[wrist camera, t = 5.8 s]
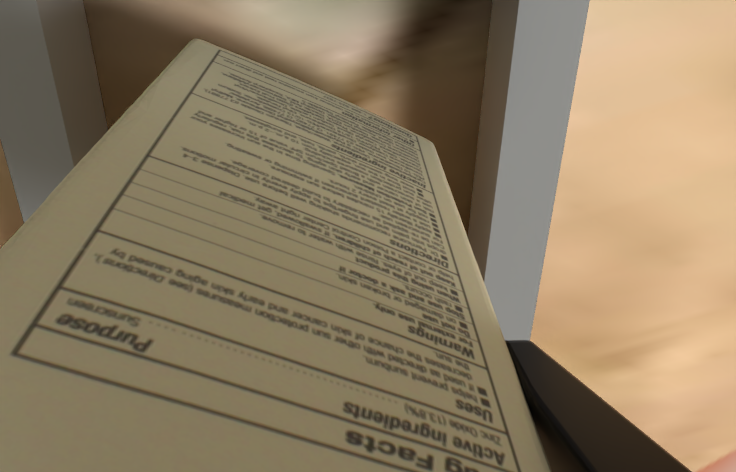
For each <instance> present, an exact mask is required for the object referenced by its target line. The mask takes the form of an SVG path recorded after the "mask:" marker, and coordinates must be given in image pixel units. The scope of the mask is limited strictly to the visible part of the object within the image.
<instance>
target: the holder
mask: <svg viewBox="0 0 736 472" xmlns="http://www.w3.org/2000/svg"><path fill="white" fill-rule="evenodd" d="M589 1H590V0H492V9H491V19H490V28H489V38H488V47H487V57H486V66H485V76H484V85H483V95H482V104H481V114H480V123H479V133H478V142H477V152H476V161H475V171H474V180H473V190H472V200H471V209H470V219H469V228H468V240H469V243H470V245H471V248H472V251H473V254H474V256H475V259H476V262H477V264H478V267H479V270H480V273H481V275H482V278H483V281H484V284H485V286H486V289H487V292H488V295H489V298H490V300H491V303H492V306H493V309H494V312H495V315H496V317H497V320H498V323H499V326H500V329H501V331H502V334H503V337H504V339H505V341H506V340H529V341H530V336H531V330H532V325H533V319H534V313H535V308H536V302H537V296H538V291H539V285H540V279H541V274H542V268H543V262H544V257H545V251H546V245H547V240H548V234H549V228H550V222H551V217H552V211H553V205H554V200H555V194H556V188H557V183H558V177H559V171H560V166H561V160H562V154H563V149H564V143H565V137H566V132H567V126H568V120H569V115H570V109H571V103H572V97H573V92H574V86H575V80H576V75H577V69H578V63H579V58H580V52H581V46H582V41H583V35H584V29H585V24H586V18H587V12H588V7H589ZM107 131H108V127H107V122H106V117H105V112H104V107H103V101H102V96H101V91H100V86H99V81H98V76H97V70H96V65H95V60H94V55H93V50H92V45H91V39H90V34H89V29H88V24H87V19H86V14H85V8H84V3H83V0H0V140H1V143H2V147H3V150H4V154H5V157H6V161H7V164H8V168H9V172H10V175H11V179H12V182H13V186H14V189H15V193H16V196H17V200H18V203H19V207H20V211H21V214H22V218H23V221H24V223H25V222H26V221H27V220H28V219H29V217H30V216H31V215H32V214H33V213H34V212H35V211H36V210H37V209H38V208H39V207H40V205H41V204H42V203H43V202H44V201H45V200H46V198H47V197H48V196H49V195H50V194H51V192H52V191H53V190H54V189H55V188H56V187H57V186H58V185H59V184H60V183H61V182H62V180H63V179H64V178H65V177H66V176H67V175H68V174H69V173H70V171H71V170H72V169H73V168H74V167H75V166H76V165H77V164H78V163H79V161H80V160H81V159H82V158H83V157H84V156H85V155H86V154H87V153H88V152H89V151H90V150H91V149H92V147H93V146H94V145H95V144H96V143H97V142H98V141H99V140H100V139H101V138H102V137H103V136H104V135H105V133H106V132H107Z"/></svg>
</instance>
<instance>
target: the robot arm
mask: <svg viewBox="0 0 736 472" xmlns="http://www.w3.org/2000/svg"><path fill="white" fill-rule="evenodd" d="M505 342H506V345H507V348H508V350H509V353H510V356H511V359H512V361H513V364H514V367H515V370H516V373H517V375H518V378H519V381H520V384H521V387H522V389H523V392H524V395H525V398H526V401H527V404H528V406H529V409H530V412H531V415H532V418H533V420H534V423H535V426H536V429H537V431H538V434H539V437H540V440H541V443H542V445H543V448H544V451H545V454H546V457H547V459H548V462H549V465H550V468H551V470H552V472H692V471H690V470H689V469H688V468H687V467H685V466H684V465H683V464H682V463H680V462H679V461H678V460H677V459H676V458H674V457H673V456H672V455H671V454H669V453H668V452H667V451H666V450H664V449H663V448H662V447H661V446H660V445H658V444H657V443H656V442H655V441H653V440H652V439H651V438H650V437H648V436H647V435H646V434H645V433H644V432H642V431H641V430H640V429H639V428H637V427H636V426H635V425H634V424H632V423H631V422H630V421H629V420H628V419H626V418H625V417H624V416H623V415H621V414H620V413H619V412H618V411H616V410H615V409H614V408H613V407H612V406H610V405H609V404H608V403H607V402H605V401H604V400H603V399H602V398H601V397H599V396H598V395H597V394H596V393H594V392H593V391H592V390H591V389H589V388H588V387H587V386H586V385H585V384H583V383H582V382H581V381H580V380H578V379H577V378H576V377H575V376H573V375H572V374H571V373H570V372H569V371H567V370H566V369H565V368H564V367H562V366H561V365H560V364H559V363H557V362H556V361H555V360H554V359H553V358H551V357H550V356H549V355H548V354H546V353H545V352H544V351H543V350H541V349H540V348H539V347H538V346H537V345H535V344H534V343H533V342H531V341H529V340H506V341H505Z"/></svg>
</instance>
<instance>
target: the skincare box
mask: <svg viewBox="0 0 736 472" xmlns="http://www.w3.org/2000/svg"><path fill="white" fill-rule="evenodd" d="M0 472H552V470H551V468H550V465H549V462H548V459H547V457H546V454H545V451H544V448H543V445H542V443H541V440H540V437H539V434H538V431H537V429H536V426H535V423H534V420H533V418H532V415H531V412H530V409H529V406H528V404H527V401H526V398H525V395H524V392H523V389H522V387H521V384H520V381H519V378H518V375H517V373H516V370H515V367H514V364H513V361H512V359H511V356H510V353H509V350H508V348H507V345H506V342H505V339H504V337H503V334H502V331H501V329H500V326H499V323H498V320H497V317H496V315H495V312H494V309H493V306H492V303H491V300H490V298H489V295H488V292H487V289H486V286H485V284H484V281H483V278H482V275H481V273H480V270H479V267H478V264H477V262H476V259H475V256H474V254H473V251H472V248H471V245H470V243H469V240H468V237H467V234H466V231H465V229H464V226H463V223H462V220H461V217H460V215H459V212H458V209H457V206H456V204H455V201H454V199H453V196H452V193H451V190H450V187H449V184H448V182H447V179H446V176H445V173H444V170H443V168H442V165H441V162H440V159H439V157H438V154H437V151H436V148H435V146H434V144H433V143H432V142H431V141H429V140H427V139H426V138H424V137H422V136H420V135H417V134H415V133H413V132H411V131H409V130H407V129H405V128H403V127H401V126H399V125H397V124H395V123H393V122H391V121H389V120H386V119H384V118H382V117H380V116H378V115H376V114H374V113H372V112H369V111H367V110H365V109H363V108H361V107H359V106H357V105H354V104H352V103H350V102H348V101H346V100H343V99H341V98H339V97H337V96H334V95H332V94H330V93H328V92H325V91H323V90H321V89H318V88H316V87H314V86H312V85H309V84H307V83H305V82H303V81H300V80H298V79H296V78H293V77H291V76H289V75H286V74H284V73H282V72H279V71H277V70H275V69H272V68H270V67H267V66H265V65H263V64H260V63H258V62H256V61H253V60H251V59H248V58H246V57H243V56H241V55H238V54H236V53H234V52H231V51H229V50H226V49H223V48H221V47H218V46H216V45H213V44H211V43H209V42H207V41H204V40H201V39H192V40H191V41H190V42H189V43H188V44H187V45H186V46H185V47H184V49H183V50H182V51H181V52H180V53H179V54H178V55H177V56H176V57H175V58H174V59H173V60H172V61H171V63H170V64H169V65H168V66H167V67H166V68H165V69H164V70H163V71H162V72H161V74H160V75H159V76H158V77H157V78H156V79H155V80H154V81H153V82H152V83H151V84H150V85H149V86H148V87H147V89H146V90H145V91H144V92H143V93H142V95H141V96H140V97H139V98H137V100H136V101H135V102H134V103H133V104H132V105H131V106H130V107H129V108H128V109H127V110H126V111H125V112H124V114H123V115H122V116H121V117H120V118H119V119H118V120H117V121H116V122H115V123H114V125H113V126H112V127H111V128H110V129H109V130H108V131H107V132H106V133H105V135H104V136H103V137H102V138H101V139H100V140H99V141H98V142H97V143H96V144H95V145H94V146H93V147H92V149H91V150H90V151H89V152H88V153H87V154H86V155H85V156H84V157H83V158H82V159H81V160H80V161H79V163H78V164H77V165H76V166H75V167H74V168H73V169H72V170H71V171H70V173H69V174H68V175H67V176H66V177H65V178H64V179H63V180H62V182H61V183H60V184H59V185H58V186H57V187H56V188H55V189H54V190H53V191H52V192H51V194H50V195H49V196H48V197H47V198H46V200H45V201H44V202H43V203H42V204H41V205H40V207H39V208H38V209H37V210H36V211H35V212H34V213H33V214H32V215H31V216H30V217H29V219H28V220H27V221H26V222H25V223H24V224H23V225H22V226H21V227H20V228H19V229H18V230H17V232H16V233H15V234H14V235H13V236H12V237H11V238H10V239H9V240H8V241H7V242H6V243H5V244H4V245H3V246H2V247H1V249H0Z"/></svg>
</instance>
